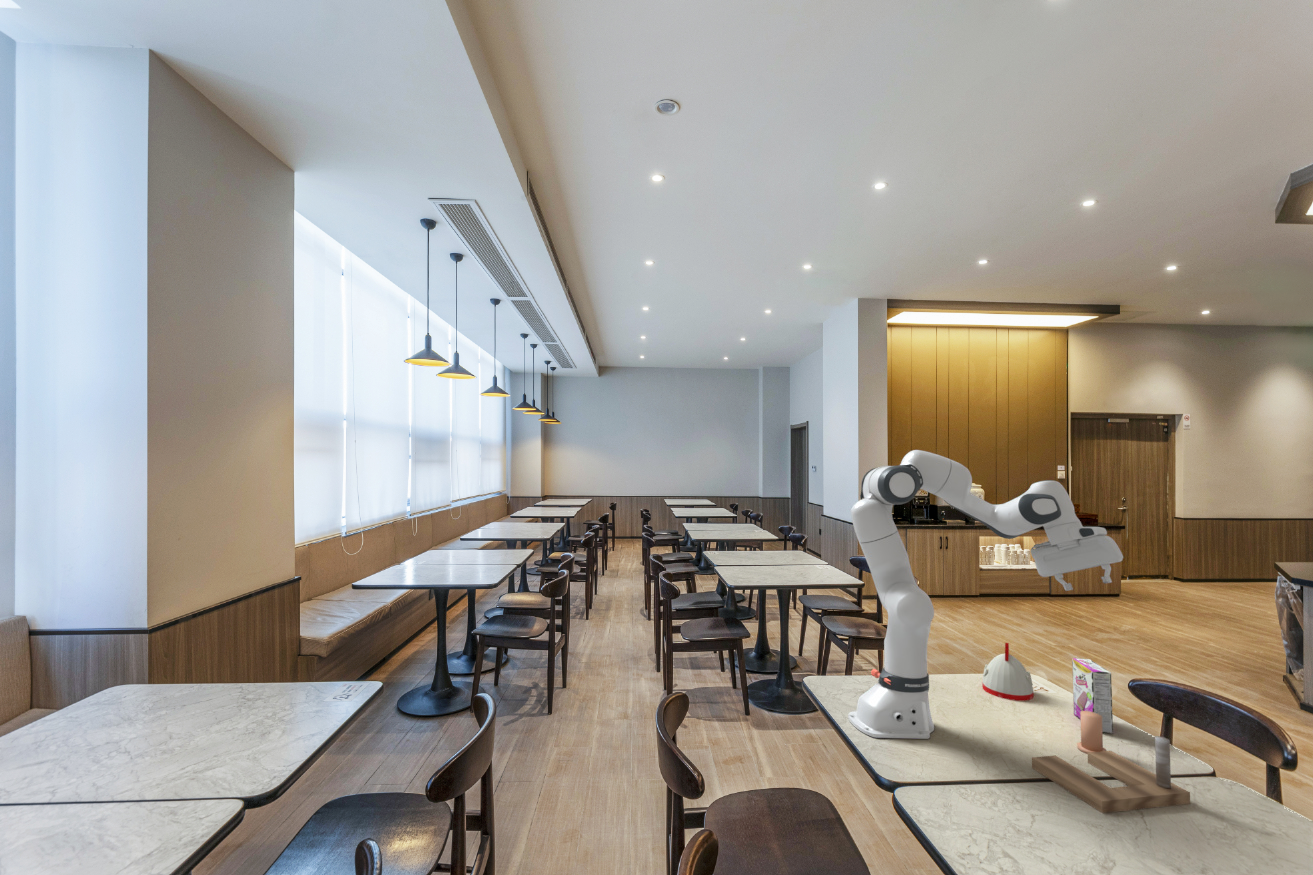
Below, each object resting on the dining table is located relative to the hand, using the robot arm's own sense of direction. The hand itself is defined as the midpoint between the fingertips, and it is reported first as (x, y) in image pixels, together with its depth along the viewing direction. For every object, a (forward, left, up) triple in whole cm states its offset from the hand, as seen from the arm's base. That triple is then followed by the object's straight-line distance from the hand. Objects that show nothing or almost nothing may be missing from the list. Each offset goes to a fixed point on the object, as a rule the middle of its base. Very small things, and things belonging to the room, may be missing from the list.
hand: (1088, 586), depth 156 cm
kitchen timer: (+1, +30, -40) cm, 50 cm away
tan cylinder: (-7, -7, -40) cm, 41 cm away
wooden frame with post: (-18, -21, -39) cm, 48 cm away
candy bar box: (+7, +6, -40) cm, 41 cm away
